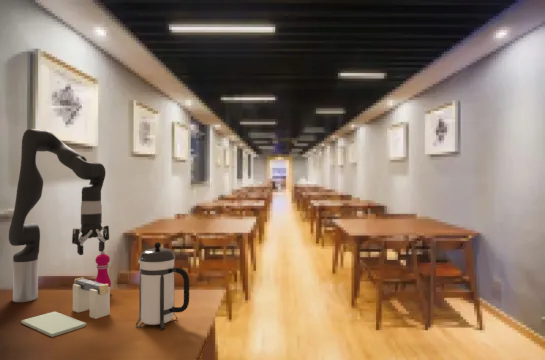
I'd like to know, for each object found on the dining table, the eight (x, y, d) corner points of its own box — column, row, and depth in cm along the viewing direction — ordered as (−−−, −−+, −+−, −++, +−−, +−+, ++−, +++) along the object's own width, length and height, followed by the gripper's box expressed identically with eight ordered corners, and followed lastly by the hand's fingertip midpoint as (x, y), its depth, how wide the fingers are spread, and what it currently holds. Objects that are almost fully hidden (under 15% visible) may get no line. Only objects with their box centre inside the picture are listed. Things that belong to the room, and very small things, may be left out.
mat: (21, 323, 143) (21, 320, 143) (54, 313, 153) (54, 311, 153) (52, 337, 131) (52, 334, 131) (86, 326, 141) (86, 323, 141)
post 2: (89, 316, 150) (89, 289, 150) (103, 312, 155) (103, 285, 155) (95, 318, 148) (95, 290, 148) (109, 314, 153) (109, 287, 153)
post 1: (72, 310, 157) (72, 284, 157) (86, 306, 162) (87, 281, 162) (78, 312, 155) (78, 285, 155) (92, 308, 160) (92, 282, 160)
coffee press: (139, 335, 133) (140, 247, 133) (132, 320, 147) (133, 240, 147) (189, 326, 141) (190, 243, 141) (178, 313, 155) (179, 237, 155)
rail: (74, 287, 159) (74, 279, 159) (82, 285, 161) (82, 277, 161) (100, 295, 148) (100, 286, 148) (108, 292, 151) (108, 284, 151)
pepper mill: (104, 296, 175) (104, 252, 175) (90, 295, 177) (90, 251, 177) (114, 292, 182) (114, 249, 182) (100, 291, 184) (100, 249, 184)
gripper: (102, 210, 163) (102, 249, 163) (68, 213, 151) (68, 254, 151) (113, 211, 159) (112, 251, 159) (79, 214, 147) (79, 257, 147)
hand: (91, 253), depth 155 cm, fingers open, 8 cm apart
